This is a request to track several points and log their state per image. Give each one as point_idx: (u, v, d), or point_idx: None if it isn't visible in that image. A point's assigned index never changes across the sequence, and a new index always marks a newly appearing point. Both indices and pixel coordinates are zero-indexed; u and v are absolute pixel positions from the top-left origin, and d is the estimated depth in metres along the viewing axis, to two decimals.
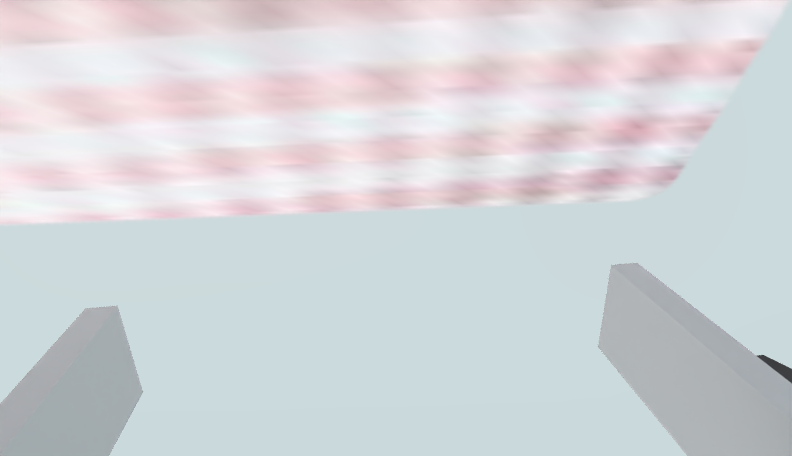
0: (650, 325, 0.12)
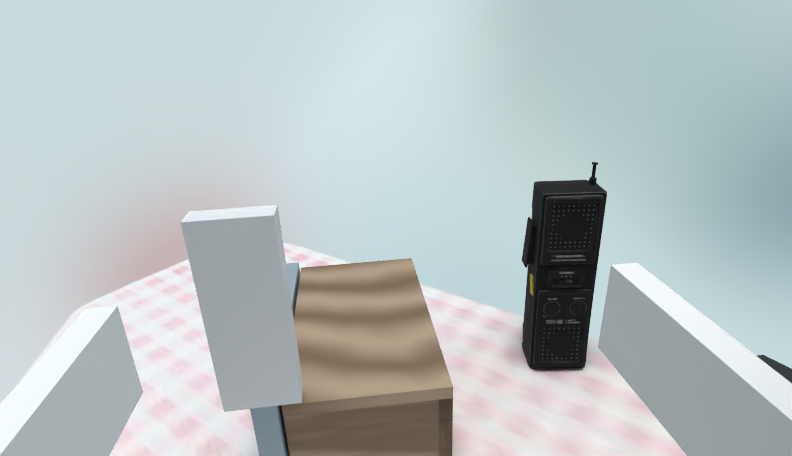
0: (650, 325, 0.12)
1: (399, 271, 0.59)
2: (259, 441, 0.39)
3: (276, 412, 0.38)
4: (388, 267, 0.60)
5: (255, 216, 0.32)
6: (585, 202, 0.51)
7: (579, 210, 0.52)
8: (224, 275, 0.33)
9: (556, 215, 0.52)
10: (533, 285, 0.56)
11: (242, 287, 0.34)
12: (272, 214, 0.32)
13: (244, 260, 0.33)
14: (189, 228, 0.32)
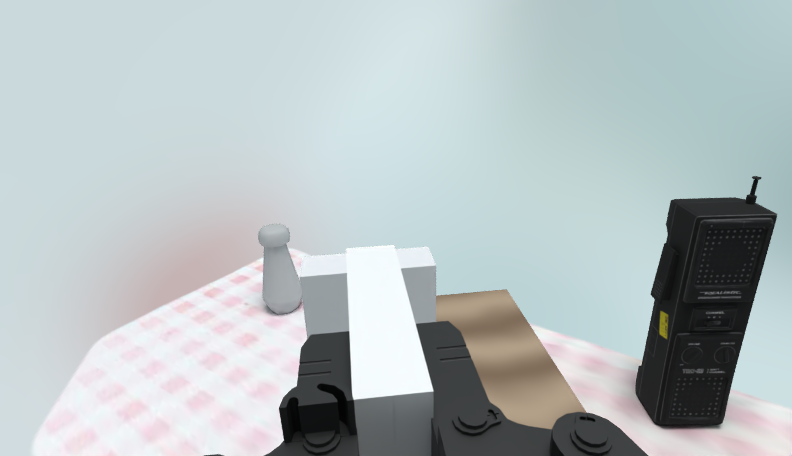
0: None
1: (498, 307, 0.48)
2: None
3: None
4: (483, 301, 0.49)
5: (408, 267, 0.21)
6: (749, 227, 0.41)
7: (740, 237, 0.41)
8: None
9: (710, 243, 0.42)
10: (668, 326, 0.46)
11: None
12: (431, 263, 0.22)
13: None
14: (311, 285, 0.21)
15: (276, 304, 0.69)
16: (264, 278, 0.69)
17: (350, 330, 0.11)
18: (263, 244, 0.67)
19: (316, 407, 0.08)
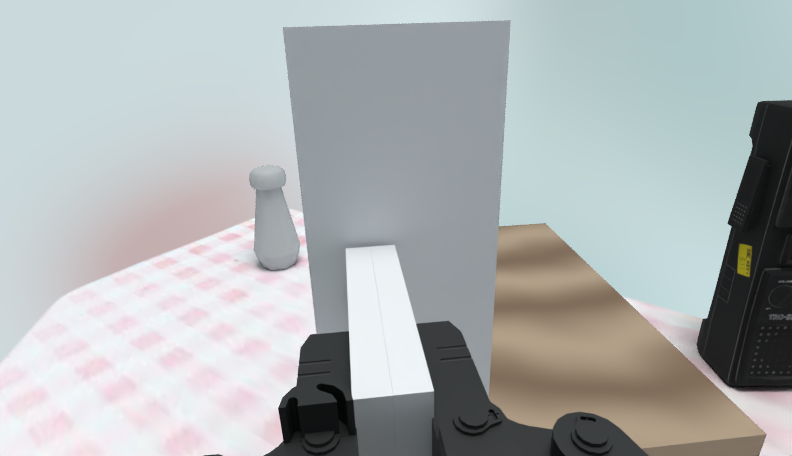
0: None
1: (537, 239, 0.39)
2: None
3: None
4: (518, 234, 0.40)
5: (464, 22, 0.13)
6: None
7: None
8: (371, 178, 0.14)
9: None
10: (751, 261, 0.37)
11: (408, 209, 0.15)
12: None
13: (423, 141, 0.14)
14: (303, 46, 0.13)
15: (269, 257, 0.60)
16: (256, 228, 0.60)
17: (349, 330, 0.11)
18: (255, 186, 0.58)
19: (315, 407, 0.08)
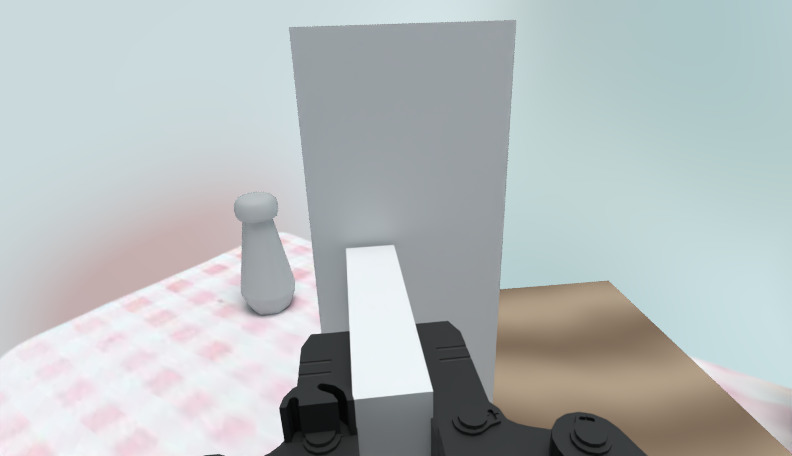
0: None
1: (605, 308, 0.30)
2: None
3: None
4: (577, 298, 0.31)
5: (470, 22, 0.13)
6: None
7: None
8: (376, 177, 0.14)
9: None
10: None
11: (413, 208, 0.15)
12: (507, 20, 0.13)
13: (428, 141, 0.14)
14: (309, 46, 0.13)
15: (259, 301, 0.51)
16: (243, 266, 0.51)
17: (350, 330, 0.11)
18: (240, 218, 0.48)
19: (316, 407, 0.08)
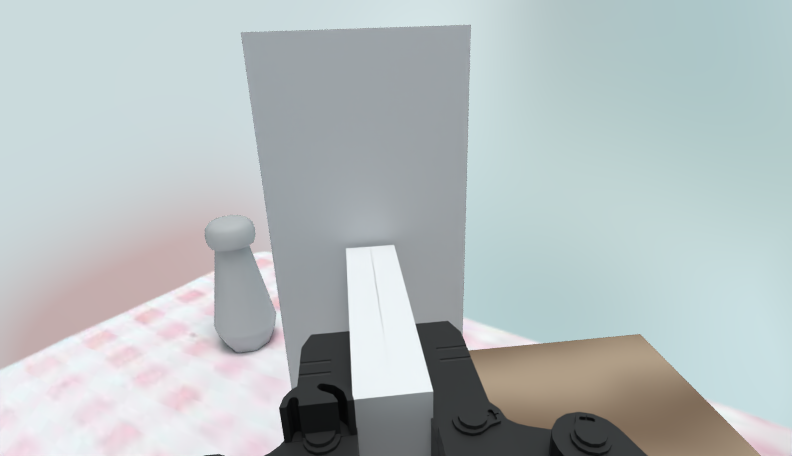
0: None
1: (640, 375, 0.24)
2: None
3: None
4: (605, 361, 0.25)
5: (424, 27, 0.13)
6: None
7: None
8: (335, 182, 0.14)
9: None
10: None
11: (373, 213, 0.15)
12: None
13: (386, 146, 0.14)
14: (262, 51, 0.13)
15: (234, 338, 0.45)
16: (216, 298, 0.45)
17: (350, 330, 0.11)
18: (212, 246, 0.42)
19: (316, 407, 0.08)
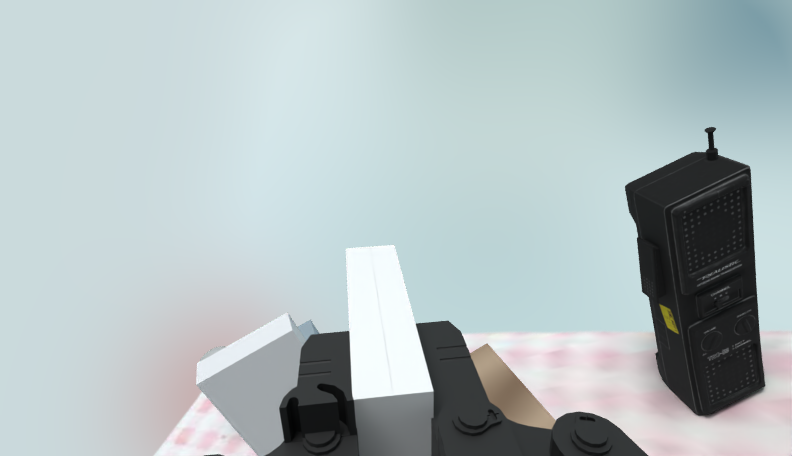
0: None
1: (486, 376, 0.41)
2: None
3: None
4: None
5: (273, 340, 0.28)
6: (726, 194, 0.34)
7: (719, 207, 0.34)
8: (266, 411, 0.29)
9: (689, 227, 0.34)
10: (675, 321, 0.39)
11: None
12: (289, 329, 0.28)
13: (281, 387, 0.29)
14: (208, 385, 0.27)
15: None
16: None
17: (350, 330, 0.11)
18: None
19: (316, 407, 0.08)
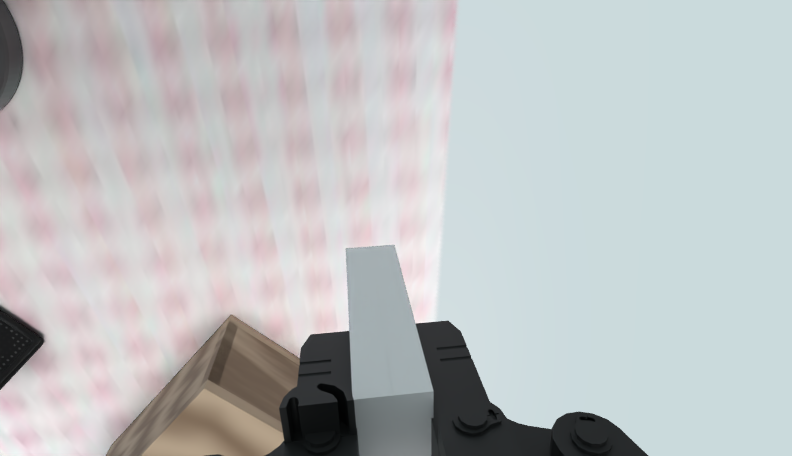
0: None
1: None
2: None
3: None
4: None
5: None
6: None
7: None
8: None
9: None
10: None
11: None
12: None
13: None
14: None
15: None
16: None
17: (350, 330, 0.11)
18: None
19: (316, 407, 0.08)
